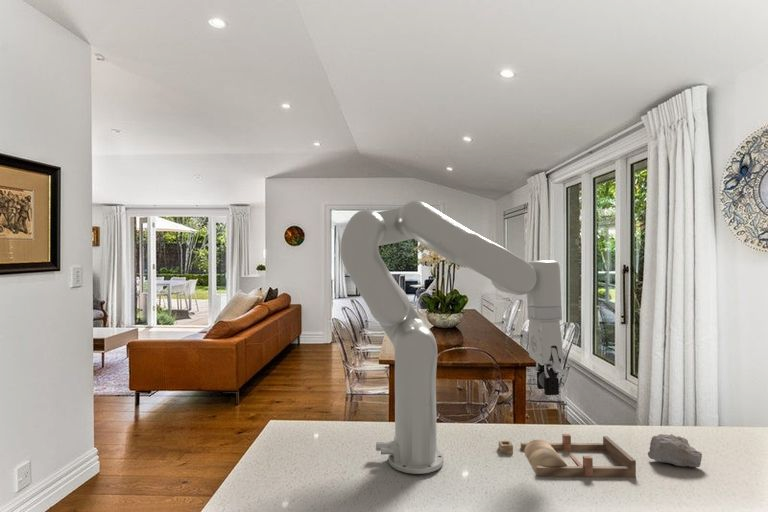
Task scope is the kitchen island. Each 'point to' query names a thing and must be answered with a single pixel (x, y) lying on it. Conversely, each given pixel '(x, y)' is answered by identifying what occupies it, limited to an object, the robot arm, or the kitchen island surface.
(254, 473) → the kitchen island surface
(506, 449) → the tee
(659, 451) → the stone
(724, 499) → the kitchen island surface
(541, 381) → the ball
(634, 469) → the wooden roller rack
